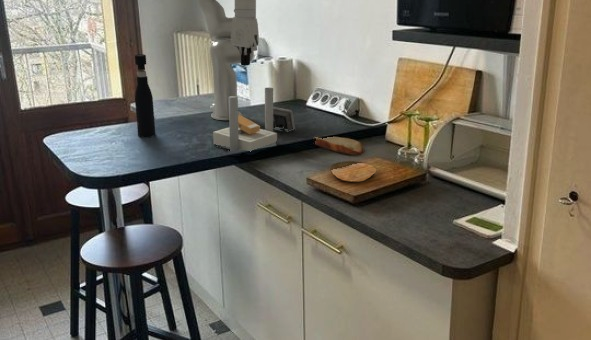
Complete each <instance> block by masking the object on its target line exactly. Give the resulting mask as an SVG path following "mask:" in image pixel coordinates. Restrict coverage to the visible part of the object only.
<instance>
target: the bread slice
mask: <svg viewBox="0 0 591 340" xmlns="http://www.w3.org/2000/svg"><path fill="white" fill-rule="evenodd" d="M314 137H315V136H314ZM315 138H316V141H315V144H314V145H316V146H318V147H321V148H324V149H326V150H328V151H331V152H334V153H339V154H343V155H347V156H348V155H349V156H361V155H362V154H364V153H365V151H364V147H363V145H362V143H361V142H360V141H358V140H356V139H354V138H353V139H351V138H349V137H339V136H333V137H327V138H323V139H322V138H318V137H315Z"/></svg>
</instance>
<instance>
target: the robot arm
mask: <svg viewBox="0 0 591 340" xmlns="http://www.w3.org/2000/svg"><path fill="white" fill-rule="evenodd" d="M196 2H197V3H198V5H199V7H200V9H201V11H202V13H203V15H204V18H205V22H206V27H207V31H208V34H209V37H210V39H211V40H212V41H214V42H213V43H212V44H211V45H210V48H209V52H210V58H211V63H212V71H213V75H212V76H213V78H212V79H213V95H214V96H213V99H214V100H213V101H214V103H212V104H211V105H210V106H209V110H212V113H211V114H210V115H211V118H212V119H214V120H218V121H229V97H230V96H236V97H238V81H237V80H238V79H237V73H236V71H235V70H234V69H233V68H232V67H231V65H236V64H237V65H239V64H240V66H243V67H247V66H250V65H251V62H252V61H253V59H254V52H257V51H258V46H259V43H260V42H259V41H260V37H259V36H260V35H259V23H258V18H257V0H234V8H233V9H234V10H233V13H234V16H233V17H227V16H226V13H225V8H224V7H223V6H222V5H221V3H220V2H218V1H217V0H196ZM238 115H241V116H242V113H241V112H240V111H238Z"/></svg>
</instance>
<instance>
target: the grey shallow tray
mask: <svg viewBox="0 0 591 340" xmlns="http://www.w3.org/2000/svg"><path fill="white" fill-rule="evenodd" d="M238 134H239V149H242V150H247V151H250V152H251V151H252V150H254V149H257V148H260V147H263V146H266V145H269V144H271V143H274V142H276V141H277V142H278V133H277V132H275V131H273V132H271V131H267V130H265V129H263V128H260V131H258V132H255V133H252V134H248V133H247V132H245V131H243V130H241V129H240V128H238ZM212 136H213V138H212V140H213V145H214V144H216V145H221V146H226V147H230V129H229V127H225V128H222V129H219V130H216V131H213V132H212Z"/></svg>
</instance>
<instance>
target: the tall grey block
mask: <svg viewBox="0 0 591 340" xmlns="http://www.w3.org/2000/svg"><path fill="white" fill-rule="evenodd" d="M273 107H274V88H273V87H270V86H269V87H265V88H264V130H267V131H271V132H274V130H273Z"/></svg>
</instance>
